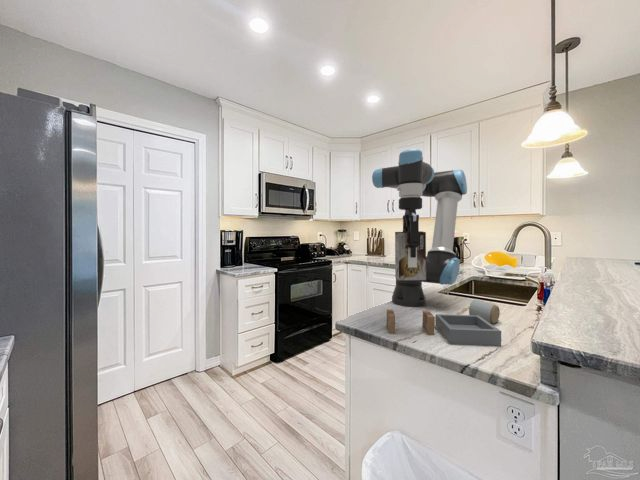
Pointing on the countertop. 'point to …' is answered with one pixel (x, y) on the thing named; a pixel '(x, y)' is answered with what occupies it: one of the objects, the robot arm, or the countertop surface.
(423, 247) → the coffee box
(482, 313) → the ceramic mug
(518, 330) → the countertop surface
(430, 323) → the wooden blocks
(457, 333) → the tray
